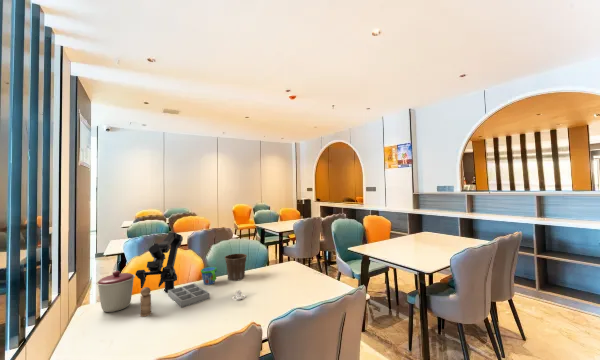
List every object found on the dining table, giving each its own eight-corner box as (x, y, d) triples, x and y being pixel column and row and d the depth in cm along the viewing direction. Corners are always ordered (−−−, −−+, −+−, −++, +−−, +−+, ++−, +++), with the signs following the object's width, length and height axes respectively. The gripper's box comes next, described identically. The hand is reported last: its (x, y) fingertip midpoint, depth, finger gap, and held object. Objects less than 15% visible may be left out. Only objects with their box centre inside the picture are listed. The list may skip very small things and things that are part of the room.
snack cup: (198, 282, 187) (197, 268, 187) (212, 278, 194) (212, 265, 194) (205, 288, 175) (205, 273, 175) (220, 284, 181) (220, 269, 182)
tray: (168, 295, 164) (168, 290, 164) (194, 288, 175) (194, 283, 175) (181, 307, 146) (181, 301, 146) (209, 298, 157) (209, 292, 158)
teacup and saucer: (241, 301, 152) (241, 294, 152) (229, 301, 154) (229, 294, 154) (247, 295, 161) (247, 289, 161) (235, 295, 162) (235, 288, 163)
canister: (89, 318, 138) (89, 277, 139) (105, 304, 155) (105, 268, 156) (128, 312, 142) (128, 273, 143) (139, 299, 160) (139, 264, 161)
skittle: (139, 314, 140) (138, 287, 140) (150, 311, 143) (149, 284, 144) (141, 317, 136) (141, 290, 136) (152, 314, 139) (152, 287, 140)
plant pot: (252, 276, 196) (251, 254, 197) (236, 283, 183) (235, 260, 183) (236, 273, 205) (236, 252, 206) (220, 279, 191) (219, 257, 192)
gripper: (136, 256, 150) (126, 281, 139) (170, 253, 153) (163, 279, 141) (143, 266, 158) (134, 291, 146) (175, 263, 160) (169, 288, 149)
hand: (150, 287), depth 146 cm, fingers open, 9 cm apart
